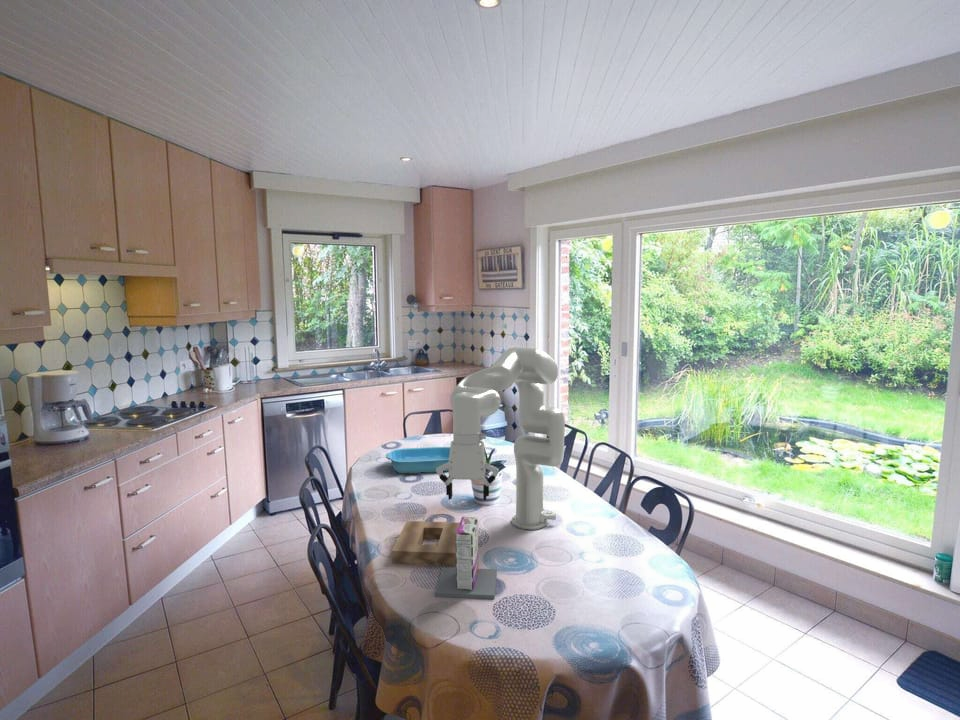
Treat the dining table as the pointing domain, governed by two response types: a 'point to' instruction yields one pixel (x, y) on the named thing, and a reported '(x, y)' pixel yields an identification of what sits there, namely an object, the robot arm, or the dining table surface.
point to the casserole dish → (419, 459)
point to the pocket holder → (414, 552)
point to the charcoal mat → (481, 590)
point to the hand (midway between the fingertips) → (467, 498)
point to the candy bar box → (467, 553)
